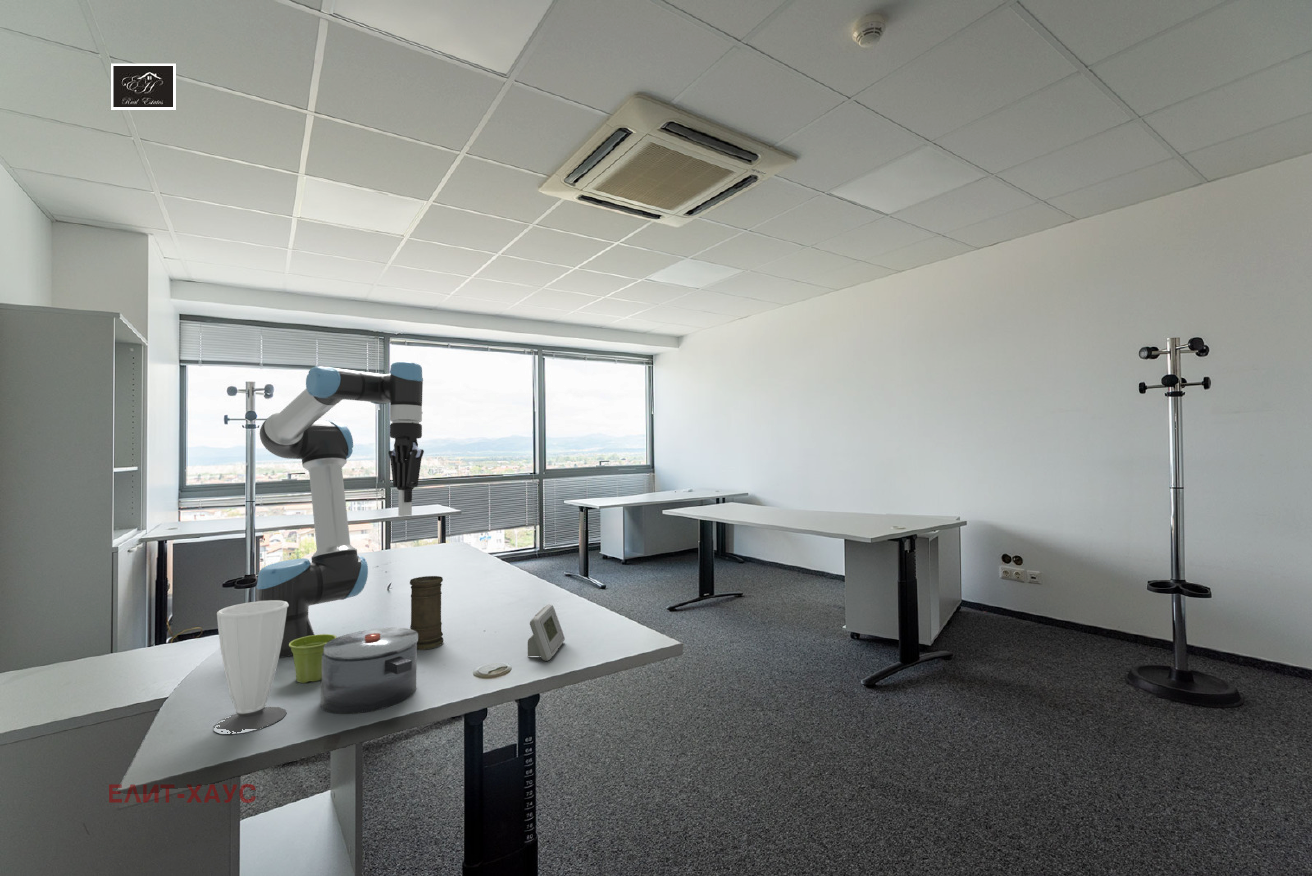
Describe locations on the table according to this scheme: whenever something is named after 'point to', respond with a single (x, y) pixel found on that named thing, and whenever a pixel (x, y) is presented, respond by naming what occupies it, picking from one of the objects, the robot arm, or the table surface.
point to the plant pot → (309, 656)
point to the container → (426, 611)
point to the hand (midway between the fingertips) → (405, 515)
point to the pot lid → (370, 643)
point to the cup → (251, 660)
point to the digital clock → (545, 634)
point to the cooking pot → (368, 682)
